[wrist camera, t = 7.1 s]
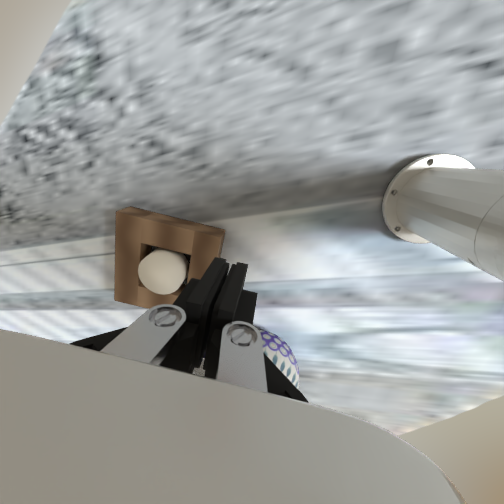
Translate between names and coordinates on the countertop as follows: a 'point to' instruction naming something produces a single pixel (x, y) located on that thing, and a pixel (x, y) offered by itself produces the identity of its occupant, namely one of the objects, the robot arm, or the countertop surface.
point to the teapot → (280, 356)
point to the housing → (164, 236)
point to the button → (163, 270)
